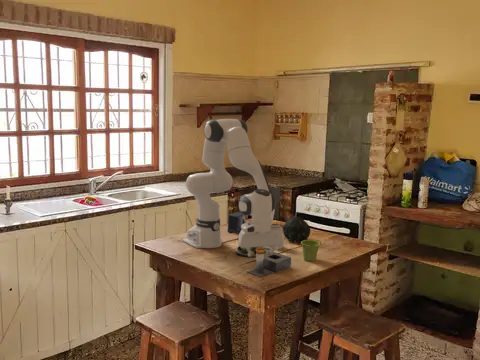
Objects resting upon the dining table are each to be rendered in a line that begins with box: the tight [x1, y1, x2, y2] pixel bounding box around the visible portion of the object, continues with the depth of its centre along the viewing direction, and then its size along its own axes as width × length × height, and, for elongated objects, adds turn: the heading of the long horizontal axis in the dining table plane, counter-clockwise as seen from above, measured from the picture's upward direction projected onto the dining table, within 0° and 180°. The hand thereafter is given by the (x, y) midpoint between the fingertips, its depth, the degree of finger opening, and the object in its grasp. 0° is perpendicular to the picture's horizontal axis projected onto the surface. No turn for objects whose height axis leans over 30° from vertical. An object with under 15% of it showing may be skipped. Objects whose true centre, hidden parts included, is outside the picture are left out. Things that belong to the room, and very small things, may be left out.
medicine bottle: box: [265, 233, 285, 251], centre depth 254 cm, size 7×7×12 cm
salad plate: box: [235, 245, 276, 258], centre depth 246 cm, size 19×18×5 cm
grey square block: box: [264, 251, 292, 274], centre depth 225 cm, size 11×11×5 cm
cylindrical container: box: [255, 247, 265, 273], centre depth 217 cm, size 4×4×11 cm
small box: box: [227, 211, 247, 234], centre depth 283 cm, size 11×6×10 cm, turn 150°
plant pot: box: [300, 239, 321, 262], centre depth 237 cm, size 9×9×9 cm
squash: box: [282, 216, 311, 243], centre depth 268 cm, size 14×15×15 cm
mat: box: [246, 268, 273, 278], centre depth 218 cm, size 8×8×1 cm
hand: (260, 255), depth 217 cm, fingers open, 8 cm apart
